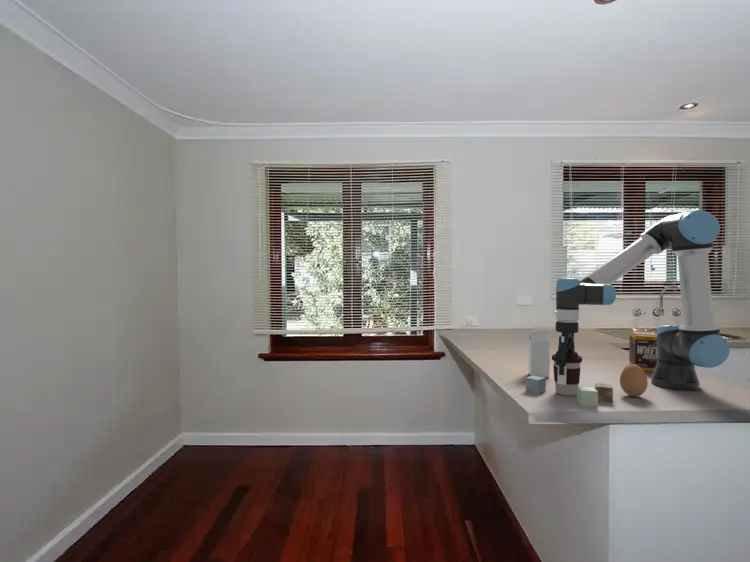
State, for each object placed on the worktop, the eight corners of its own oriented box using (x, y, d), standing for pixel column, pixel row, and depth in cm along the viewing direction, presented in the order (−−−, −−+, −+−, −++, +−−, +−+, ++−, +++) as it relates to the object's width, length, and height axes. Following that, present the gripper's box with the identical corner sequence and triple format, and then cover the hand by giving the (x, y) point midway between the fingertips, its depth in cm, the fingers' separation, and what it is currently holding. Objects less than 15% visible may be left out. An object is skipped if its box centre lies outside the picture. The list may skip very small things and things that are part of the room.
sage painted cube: (592, 402, 144) (592, 387, 144) (597, 406, 139) (597, 391, 139) (576, 401, 145) (576, 386, 145) (581, 405, 140) (581, 390, 140)
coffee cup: (545, 391, 157) (545, 350, 156) (565, 388, 160) (565, 348, 160) (567, 398, 147) (567, 355, 147) (588, 395, 151) (588, 353, 151)
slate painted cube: (545, 391, 157) (545, 377, 157) (538, 394, 154) (538, 380, 154) (532, 388, 161) (532, 375, 161) (525, 391, 157) (525, 377, 157)
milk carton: (549, 378, 176) (549, 332, 176) (531, 377, 178) (531, 331, 177) (546, 373, 183) (546, 329, 183) (528, 373, 185) (528, 329, 184)
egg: (636, 401, 144) (637, 367, 144) (614, 394, 152) (614, 363, 152) (652, 398, 148) (653, 365, 148) (630, 392, 155) (630, 361, 155)
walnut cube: (611, 398, 148) (611, 384, 147) (612, 402, 143) (612, 388, 143) (595, 397, 150) (595, 382, 150) (595, 401, 145) (596, 386, 145)
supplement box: (634, 370, 189) (635, 335, 189) (628, 363, 204) (629, 330, 203) (662, 372, 185) (662, 336, 185) (654, 365, 200) (654, 331, 199)
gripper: (563, 317, 166) (562, 372, 166) (547, 323, 145) (546, 385, 146) (584, 318, 162) (583, 374, 162) (571, 325, 141) (570, 389, 141)
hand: (565, 380), depth 154 cm, fingers open, 13 cm apart
